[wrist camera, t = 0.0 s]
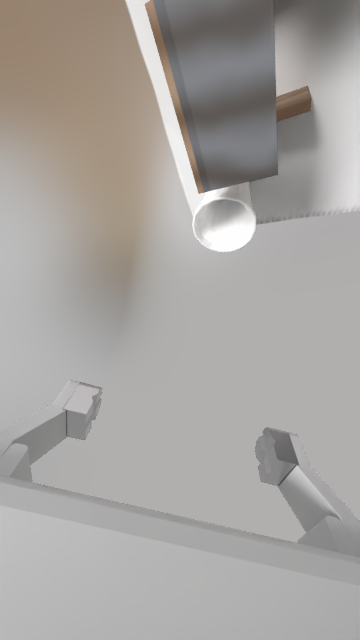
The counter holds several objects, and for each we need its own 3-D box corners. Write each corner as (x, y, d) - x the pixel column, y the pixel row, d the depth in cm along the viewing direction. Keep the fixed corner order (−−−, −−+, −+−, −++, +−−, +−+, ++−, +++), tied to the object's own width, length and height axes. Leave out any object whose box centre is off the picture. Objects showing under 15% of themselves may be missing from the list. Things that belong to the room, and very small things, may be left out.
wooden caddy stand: (187, -18, 34) (144, 4, 22) (317, -96, 28) (353, -123, 16) (215, 131, 47) (198, 193, 36) (306, 101, 41) (321, 164, 30)
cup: (234, 141, 48) (228, 181, 40) (269, 187, 54) (270, 231, 46) (191, 184, 57) (179, 224, 49) (226, 220, 63) (219, 261, 55)
